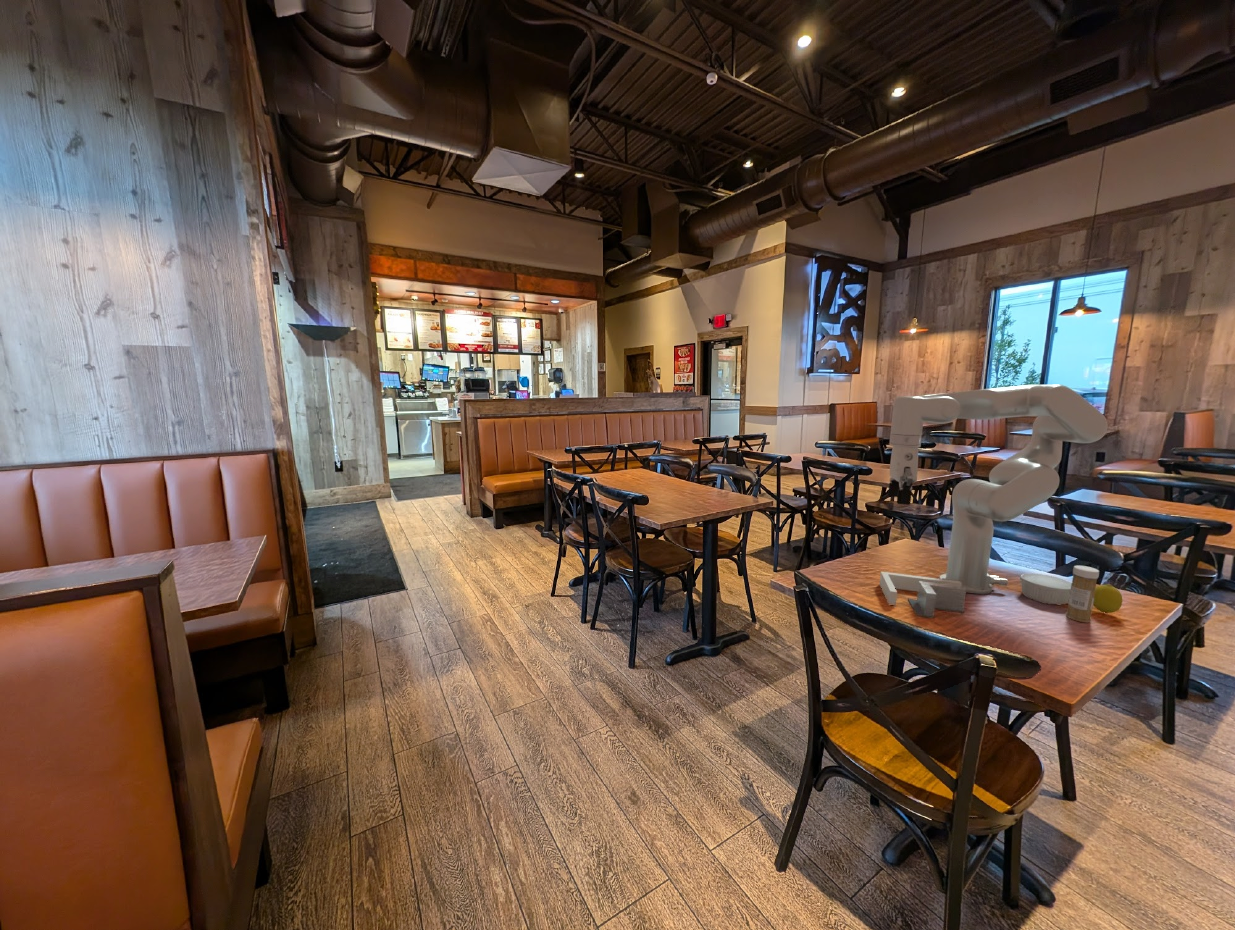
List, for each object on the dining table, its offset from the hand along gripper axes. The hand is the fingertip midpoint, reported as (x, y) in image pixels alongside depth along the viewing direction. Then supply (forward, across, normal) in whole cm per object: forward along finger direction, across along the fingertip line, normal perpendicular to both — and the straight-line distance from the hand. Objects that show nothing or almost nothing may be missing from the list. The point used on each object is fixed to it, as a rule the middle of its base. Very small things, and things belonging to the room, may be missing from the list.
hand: (898, 500), depth 135 cm
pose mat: (+26, -15, -8) cm, 31 cm away
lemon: (+26, -3, -49) cm, 55 cm away
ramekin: (+26, +4, -39) cm, 47 cm away
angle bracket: (+25, -16, -9) cm, 31 cm away
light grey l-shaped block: (+26, -9, -6) cm, 28 cm away
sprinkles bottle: (+26, -8, -41) cm, 49 cm away
